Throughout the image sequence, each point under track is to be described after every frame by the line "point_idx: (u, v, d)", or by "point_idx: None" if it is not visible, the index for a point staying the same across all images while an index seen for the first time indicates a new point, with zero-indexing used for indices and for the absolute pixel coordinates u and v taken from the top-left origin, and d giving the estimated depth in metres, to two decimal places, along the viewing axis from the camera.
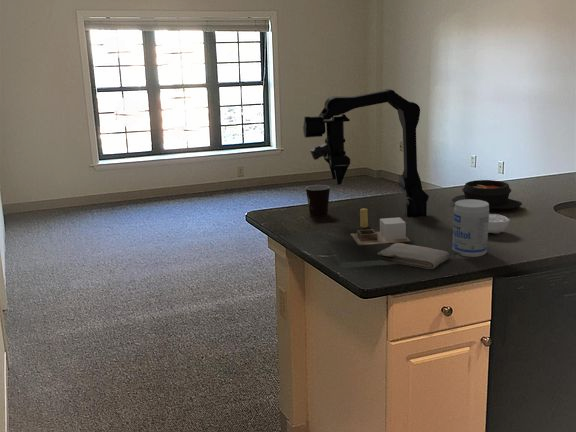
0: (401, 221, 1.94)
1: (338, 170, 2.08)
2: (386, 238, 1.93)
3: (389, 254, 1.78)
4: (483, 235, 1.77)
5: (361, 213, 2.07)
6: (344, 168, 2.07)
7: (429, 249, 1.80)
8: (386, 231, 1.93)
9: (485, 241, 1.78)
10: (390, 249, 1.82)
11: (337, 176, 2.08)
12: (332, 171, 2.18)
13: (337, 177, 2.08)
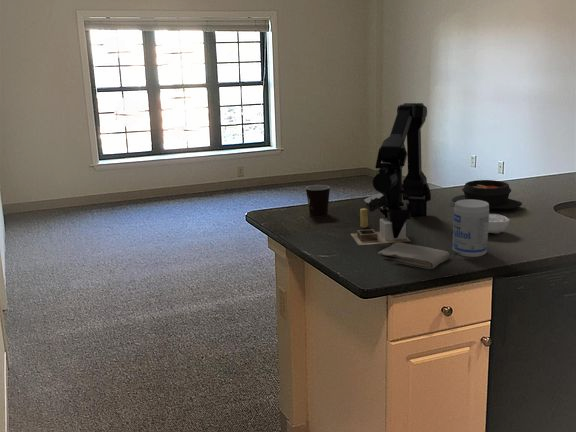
0: None
1: (395, 223, 1.91)
2: (386, 238, 1.93)
3: (389, 253, 1.78)
4: (483, 235, 1.77)
5: (361, 213, 2.07)
6: (402, 221, 1.90)
7: (429, 249, 1.80)
8: (386, 231, 1.93)
9: (485, 241, 1.78)
10: (391, 248, 1.82)
11: (394, 229, 1.91)
12: None
13: (394, 230, 1.92)
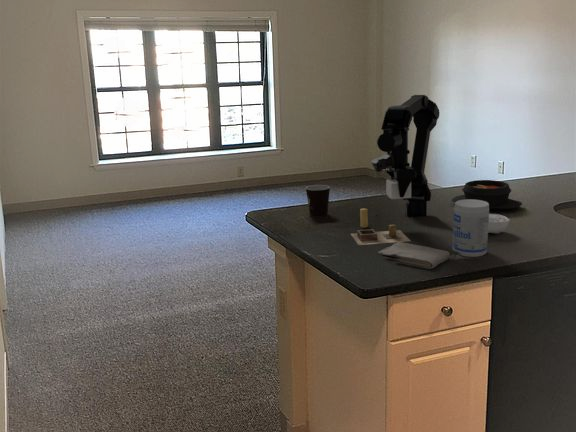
0: None
1: (401, 182, 1.99)
2: (392, 197, 2.02)
3: (389, 253, 1.78)
4: (483, 235, 1.77)
5: (361, 213, 2.07)
6: (408, 180, 1.99)
7: (430, 249, 1.80)
8: (392, 190, 2.01)
9: (485, 241, 1.78)
10: (391, 248, 1.83)
11: (400, 189, 2.00)
12: None
13: (400, 189, 2.00)
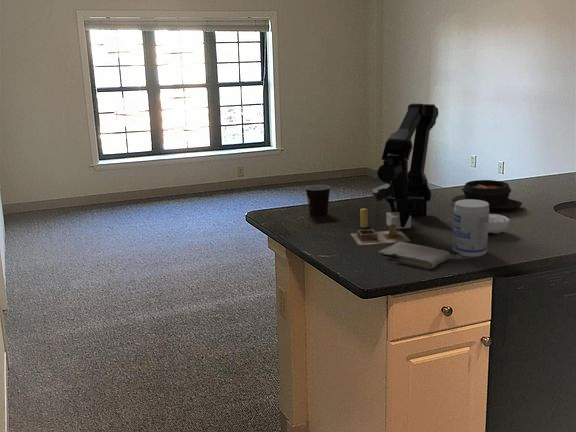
0: None
1: (402, 213, 2.01)
2: None
3: (389, 253, 1.79)
4: (483, 235, 1.77)
5: (361, 213, 2.07)
6: (409, 211, 2.00)
7: (430, 249, 1.80)
8: (392, 224, 2.04)
9: (485, 241, 1.78)
10: (391, 248, 1.83)
11: (401, 219, 2.01)
12: (393, 211, 2.11)
13: (401, 220, 2.01)
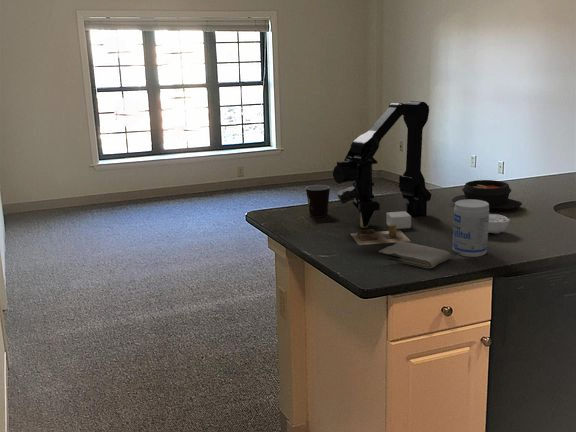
0: (407, 215, 2.05)
1: (364, 212, 2.05)
2: None
3: (390, 252, 1.79)
4: (483, 235, 1.77)
5: None
6: (371, 210, 2.04)
7: (431, 248, 1.80)
8: (392, 224, 2.04)
9: (485, 241, 1.78)
10: (392, 247, 1.83)
11: (364, 218, 2.05)
12: None
13: (363, 219, 2.05)
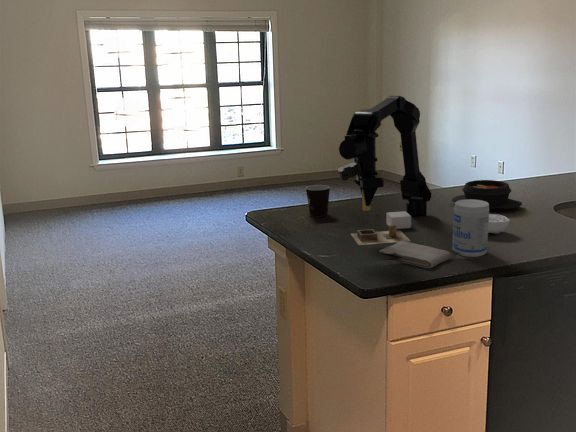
0: (407, 215, 2.05)
1: (367, 190, 1.89)
2: None
3: (390, 252, 1.79)
4: (483, 235, 1.77)
5: None
6: (374, 188, 1.89)
7: (431, 248, 1.80)
8: (392, 224, 2.04)
9: (485, 241, 1.78)
10: (393, 247, 1.84)
11: (366, 197, 1.90)
12: None
13: (366, 198, 1.90)
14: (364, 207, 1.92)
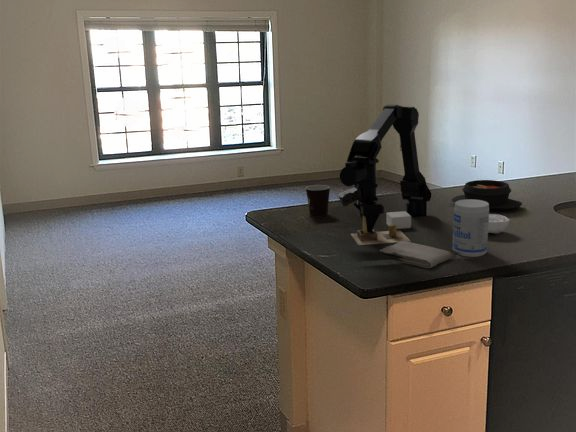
0: (407, 215, 2.05)
1: (369, 217, 1.90)
2: None
3: (390, 251, 1.80)
4: (483, 235, 1.77)
5: (363, 220, 1.93)
6: (375, 215, 1.89)
7: (431, 248, 1.80)
8: (392, 224, 2.04)
9: (485, 241, 1.78)
10: (393, 247, 1.84)
11: (368, 224, 1.90)
12: (362, 218, 1.97)
13: (367, 225, 1.91)
14: None
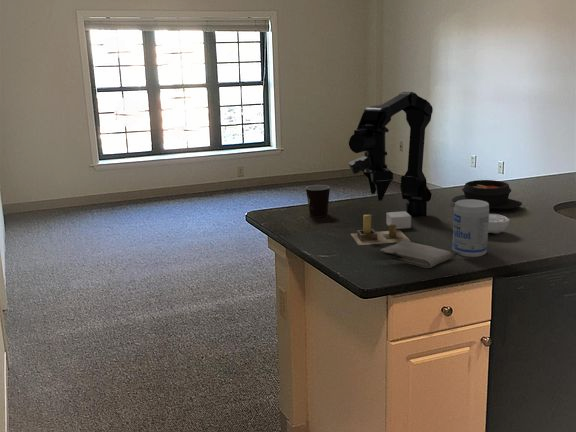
0: (407, 215, 2.05)
1: (379, 185, 1.94)
2: None
3: (390, 251, 1.80)
4: (483, 235, 1.77)
5: (364, 219, 1.94)
6: (386, 183, 1.94)
7: (432, 248, 1.80)
8: (392, 224, 2.04)
9: (485, 241, 1.78)
10: (394, 246, 1.84)
11: (379, 192, 1.95)
12: (371, 185, 2.05)
13: (378, 193, 1.95)
14: None
